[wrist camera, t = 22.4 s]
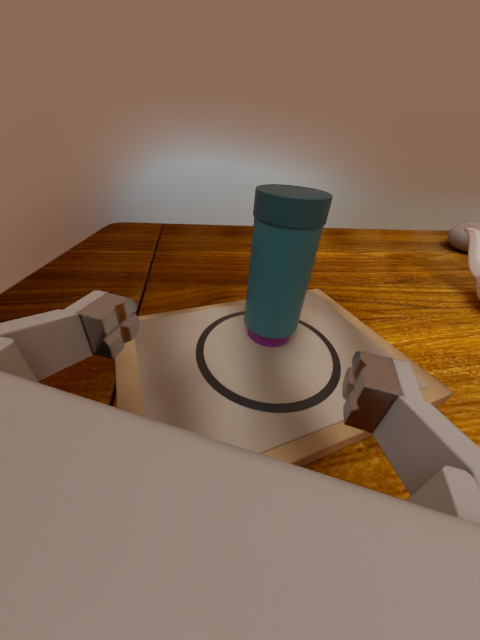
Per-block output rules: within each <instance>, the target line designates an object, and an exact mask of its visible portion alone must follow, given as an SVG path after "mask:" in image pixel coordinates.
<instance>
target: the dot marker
mask: <svg viewBox="0 0 480 640" xmlns="http://www.w3.org/2000/svg"><path fill="white" fill-rule="evenodd" d="M331 201H332V195H331V194H330V193H327V192H325V191H321V190H317V189H313V188H307V187H301V186H292V185H277V184H270V185H260V186H257V187H256V191H255V202H254V212H253V215H254V227H253V237H252V246H251V256H250V266H249V276H248V286H247V295H246V305H245V315H244V322H245V325H246V326H247V328H248V335H249V337H250V338H251V339H252V340H253V341H254V342H256V343H257V344H259V345H262V346H266V347H278V346H282V345H284V344H285V343H287V342H288V340H289V338H290V335H292V334H293V333H294V332H295V331H296V330H297V327H298V323H299V319H300V315H301V311H302V307H303V303H304V299H305V295H306V291H307V288H308V284H309V280H310V276H311V272H312V268H313V264H314V260H315V256H316V252H317V249H318V245H319V241H320V237H321V233H322V229H323V226H324V225H325V224H326V220H327V216H328V212H329V209H330V205H331Z"/></svg>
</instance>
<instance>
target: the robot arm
mask: <svg viewBox="0 0 480 640" xmlns="http://www.w3.org/2000/svg"><path fill="white" fill-rule="evenodd" d="M136 309H137V306H136V302H135V300H133V299H132V298H128V297H124V296H120V295H116V294H112V293H108V292H104V291H100V290H96V291H93V292H91V293H90V294H88V295H86V296H85V297H83V298H81V299H80V300H78V301H77V302H75V303H73V304H72V305H70V306H68V307H67V308H65V309H64V310H60V309H58V310H54V311H49V312H45V313H41V314H37V315H33V316H28V317H24V318H20V319H16V320H11V321H7V322H3V323H0V640H480V448H479V447H478V446H477V445H476V444H474V443H473V442H472V441H471V440H470V439H469V438H468V437H467V436H466V435H465V434H464V433H462V432H461V431H460V430H459V429H458V428H457V427H456V426H455V425H454V424H453V423H452V422H450V421H449V420H448V419H447V418H446V417H445V416H444V415H443V414H442V413H441V412H439V411H438V410H437V409H436V408H435V407H434V406H433V405H432V404H431V403H427V402H425V400H424V398H423V395H422V393H421V390H420V388H419V385H418V382H417V380H416V377H415V375H414V372H413V370H412V367H411V364H410V363H409V362H408V361H405V360H400V359H395V358H387V357H383V356H379V355H374V354H370V353H365V352H361V351H356V352H355V354H354V356H353V358H352V367H350V368H348V369H347V371H346V374H345V376H344V380H343V385H342V396H343V398H344V399H345V400H346V402H345V404H344V406H343V415H344V425H347V426H350V427H354V428H357V429H360V430H363V431H366V432H370V433H373V434H372V435H373V437H374V438H375V440H376V442H377V443H378V445H379V446H380V448H381V449H382V451H383V453H384V454H385V456H386V457H387V459H388V460H389V462H390V463H391V465H392V467H393V468H394V470H395V471H396V473H397V474H398V476H399V478H400V479H401V481H402V482H403V484H404V485H405V487H406V489H407V490H408V492H409V493H410V495H411V496H410V497H409V498H408V499H407V500H402V499H399V498H396V497H393V496H390V495H387V494H384V493H381V492H378V491H374V490H371V489H368V488H365V487H362V486H359V485H356V484H353V483H349V482H346V481H343V480H340V479H337V478H334V477H331V476H328V475H325V474H321V473H318V472H315V471H312V470H309V469H306V468H303V467H300V466H296V465H293V464H290V463H287V462H284V461H281V460H278V459H275V458H271V457H268V456H265V455H262V454H259V453H256V452H253V451H250V450H246V449H243V448H240V447H237V446H234V445H231V444H228V443H224V442H221V441H218V440H215V439H212V438H209V437H206V436H203V435H199V434H196V433H193V432H190V431H187V430H184V429H181V428H178V427H174V426H171V425H168V424H165V423H162V422H159V421H156V420H153V419H150V418H147V417H143V416H140V415H137V414H134V413H131V412H128V411H125V410H122V409H119V408H116V407H112V406H109V405H106V404H103V403H100V402H97V401H94V400H91V399H87V398H84V397H81V396H78V395H75V394H72V393H69V392H66V391H63V390H59V389H56V388H53V387H50V386H47V385H44V384H41V383H38V381H40V380H42V379H44V378H46V377H48V376H50V375H52V374H54V373H57V372H59V371H61V370H63V369H65V368H67V367H69V366H71V365H73V364H76V363H78V362H80V361H82V360H84V359H86V358H88V357H90V356H92V355H93V354H94V355H98V356H102V357H106V358H110V359H114V358H115V357H116V356H117V355H118V354H119V353H120V352H121V351H122V350H123V349H124V345H125V343H127V342H129V341H132V340H133V339H134V338H135V337H136V335H137V333H138V331H139V327H140V322H139V318H138V316H137V315H136V314H135V311H136Z"/></svg>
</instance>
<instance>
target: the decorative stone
mask: <svg viewBox="0 0 480 640" xmlns="http://www.w3.org/2000/svg"><path fill="white" fill-rule="evenodd" d="M467 228H473V229H479V232H480V221H471V222H465V223H461V224H458V225H456V226H455V227H453V228H452V229H451V230H450V231H449V233H448V241H449V243H450V244H451V245H452V246H454V247H455V248H457V249H459V250H462V251H466V252H468V247H469V240H468V235H467V233H466V231H465V230H464V229H467Z"/></svg>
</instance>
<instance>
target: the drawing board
mask: <svg viewBox="0 0 480 640" xmlns="http://www.w3.org/2000/svg"><path fill="white" fill-rule="evenodd" d="M245 305H246V300H241V301H234V302H228V303H221V304H215V305H209V306H202V307H196V308H189V309H183V310H176V311H170V312H163V313H157V314H151V315H144V316H138V318H139V322H140V327H139V331H138V333H137V335H136V337H135V338H134V339H133V340H132V341H129V342H127V343H125V345H124V349H123V350H122V351H121V352H120V353H119V354H118V355H117V356H116V357H115V368H116V392H117V408H119V409H122V410H125V411H128V412H131V413H134V414H137V415H140V416H143V417H147V418H150V419H153V420H156V421H159V422H162V423H165V424H168V425H171V426H174V427H178V428H181V429H184V430H187V431H190V432H193V433H196V434H199V435H203V436H206V437H209V438H212V439H215V440H218V441H221V442H224V443H228V444H231V445H234V446H237V447H240V448H243V449H246V450H250V451H253V452H256V453H259V454H262V455H265V456H268V457H271V458H275V459H278V460H281V461H284V462H287V463H290V464H293V465H296V466H300V467H302V466H304V465H306V464H309V463H311V462H313V461H315V460H318V459H320V458H322V457H324V456H327V455H329V454H331V453H333V452H335V451H338V450H340V449H342V448H344V447H347V446H349V445H351V444H353V443H356V442H358V441H360V440H362V439H365V438H367V437H369V436H371V435H372V434H373V433H370V432H366V431H363V430H360V429H357V428H354V427H350V426H347V425H344V415H343V406H344V404H345V402H346V400H345V399H344V398H343V396H342V385H343V380H344V376H345V374H346V371H347V369H348V368H350V367H352V358H353V356H354V354H355V352H356V351H361V352H365V353H370V354H374V355H379V356H383V357H387V358H395V359H400V360H405V361H408V362H409V363H410V364H411V367H412V370H413V372H414V375H415V377H416V380H417V382H418V385H419V388H420V390H421V393H422V395H423V398H424V400H425V402H427V403H431V404H432V405H433V406H434V407H437V406H439V405H441V404H443V403H445V402H446V401H447V400H448V399H449V398H450V396H451V395H452V394H453V392H452V391H450V390H449V389H448V388H447V387H445V386H444V385H443V384H441V383H440V382H439V381H437V380H436V379H435V378H434V377H432V376H431V375H430V374H428V373H427V372H426V371H424V370H423V369H422V368H421V367H419V366H418V365H417V364H415V363H414V362H413V361H412V360H410V359H409V358H408V357H406V356H405V355H404V354H402V353H401V352H400V351H399V350H397V349H396V348H395V347H393V346H392V345H391V344H390V343H388V342H387V341H386V340H384V339H383V338H382V337H380V336H379V335H378V334H377V333H375V332H374V331H373V330H371V329H370V328H369V327H367V326H366V325H365V324H364V323H362V322H361V321H360V320H358V319H357V318H356V317H355V316H353V315H352V314H351V313H349V312H348V311H347V310H345V309H344V308H343V307H342V306H340V305H339V304H338V303H336V302H335V301H334V300H332V299H331V298H330V297H329V296H327V295H326V294H325V293H323V292H322V291H321V290H320V289H312V290H307V291H306V295H305V299H304V303H303V307H302V311H301V315H300V319H299V323H298V327H297V330H296V331H295V332H294V333H293V334H292V335H290V338H289V340H288V342H287V343H285V344H284V345H282V346H278V347H266V346H262V345H259V344H257V343H256V342H254V341H253V340H252V339H251V338H250V337H249V335H248V328H247V326H246V325H245V322H244V315H245Z"/></svg>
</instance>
